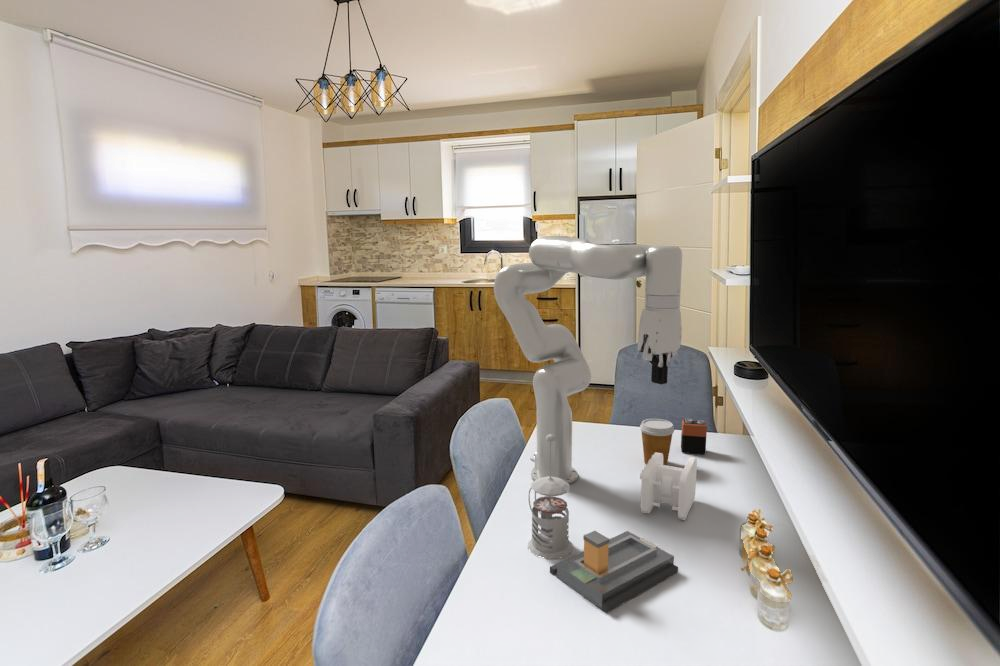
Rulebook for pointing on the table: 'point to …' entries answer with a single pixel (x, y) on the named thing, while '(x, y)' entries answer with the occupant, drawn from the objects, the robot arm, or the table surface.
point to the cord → (553, 569)
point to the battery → (693, 436)
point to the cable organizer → (668, 485)
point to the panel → (615, 568)
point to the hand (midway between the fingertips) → (659, 382)
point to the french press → (550, 517)
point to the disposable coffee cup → (656, 438)
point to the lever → (596, 551)
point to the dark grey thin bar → (639, 588)
